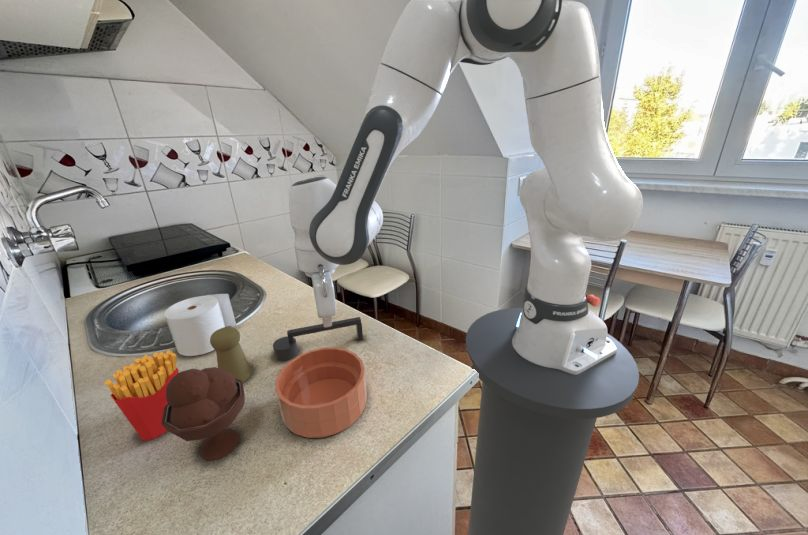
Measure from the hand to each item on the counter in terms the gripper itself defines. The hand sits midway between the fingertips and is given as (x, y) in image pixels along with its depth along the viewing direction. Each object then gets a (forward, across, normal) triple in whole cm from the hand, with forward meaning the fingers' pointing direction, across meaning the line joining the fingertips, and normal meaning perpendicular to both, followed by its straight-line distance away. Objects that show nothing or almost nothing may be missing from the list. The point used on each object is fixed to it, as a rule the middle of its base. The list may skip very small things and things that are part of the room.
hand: (325, 314), depth 73 cm
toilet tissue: (+9, +12, +28) cm, 32 cm away
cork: (+9, -4, +20) cm, 22 cm away
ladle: (+8, 0, +2) cm, 9 cm away
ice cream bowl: (+9, -21, +20) cm, 30 cm away
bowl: (+8, -18, +3) cm, 20 cm away
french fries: (+9, -13, +30) cm, 33 cm away
